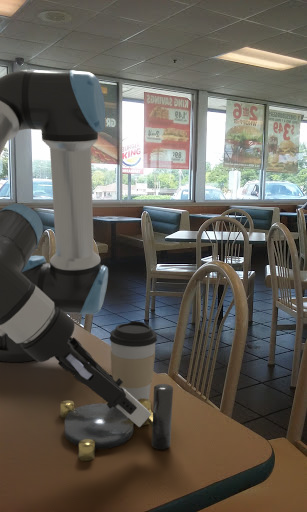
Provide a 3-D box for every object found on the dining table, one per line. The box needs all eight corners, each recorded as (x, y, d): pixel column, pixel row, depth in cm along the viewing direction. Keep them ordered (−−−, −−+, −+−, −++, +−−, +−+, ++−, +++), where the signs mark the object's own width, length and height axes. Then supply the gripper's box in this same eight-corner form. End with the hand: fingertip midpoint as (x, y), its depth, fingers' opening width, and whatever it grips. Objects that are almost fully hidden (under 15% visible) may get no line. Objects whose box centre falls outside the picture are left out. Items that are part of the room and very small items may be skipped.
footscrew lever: (132, 419, 84) (134, 367, 82) (148, 417, 85) (150, 365, 83) (155, 452, 74) (158, 393, 73) (173, 448, 75) (176, 390, 74)
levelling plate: (55, 413, 85) (56, 401, 85) (116, 404, 90) (117, 393, 89) (76, 463, 71) (77, 449, 70) (148, 449, 75) (149, 436, 75)
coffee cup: (148, 413, 87) (152, 335, 84) (101, 407, 88) (103, 330, 86) (158, 393, 95) (161, 321, 93) (115, 387, 97) (117, 317, 95)
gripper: (13, 330, 71) (115, 417, 80) (23, 361, 59) (142, 459, 68) (48, 294, 72) (145, 384, 81) (66, 317, 61) (177, 419, 69)
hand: (143, 418), depth 75 cm, fingers closed
